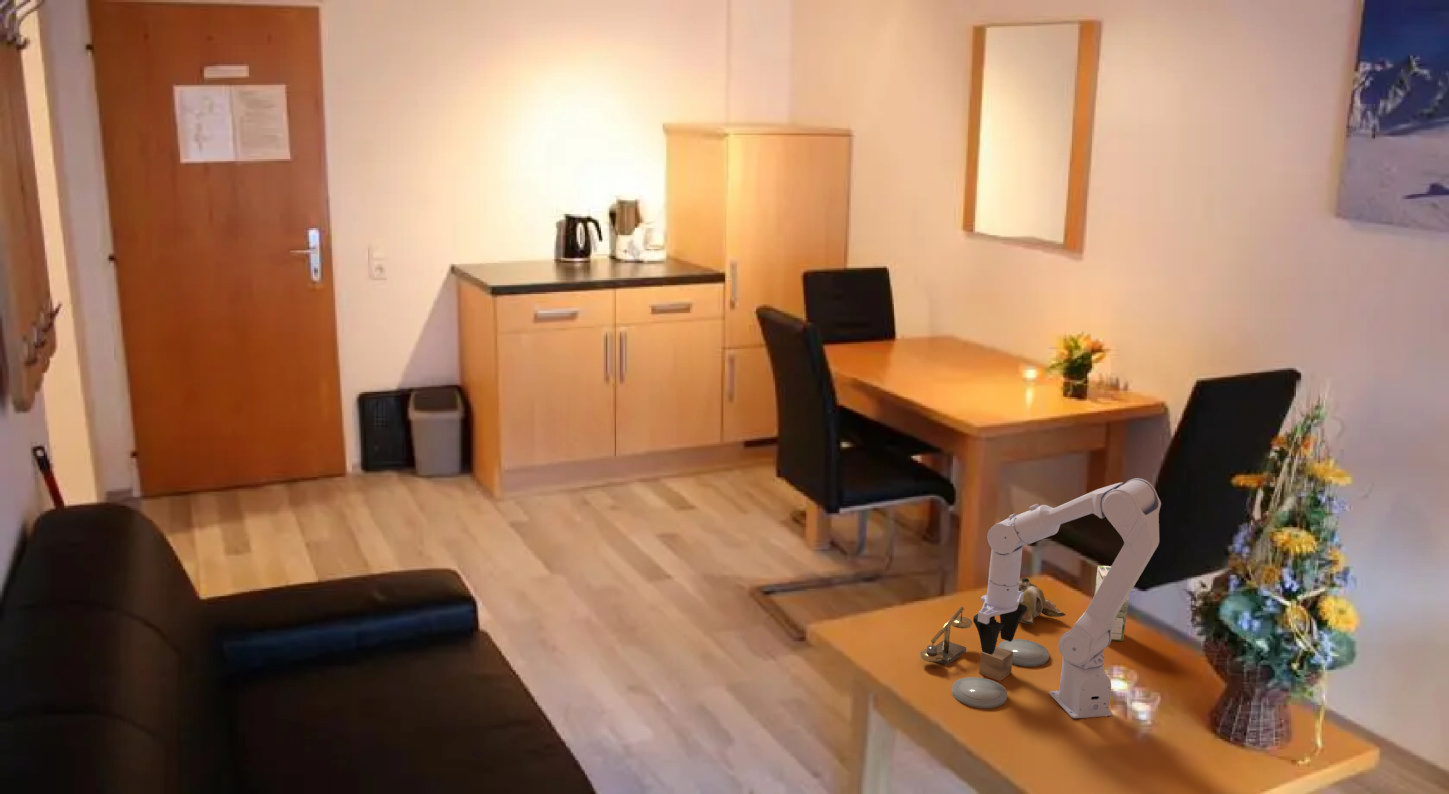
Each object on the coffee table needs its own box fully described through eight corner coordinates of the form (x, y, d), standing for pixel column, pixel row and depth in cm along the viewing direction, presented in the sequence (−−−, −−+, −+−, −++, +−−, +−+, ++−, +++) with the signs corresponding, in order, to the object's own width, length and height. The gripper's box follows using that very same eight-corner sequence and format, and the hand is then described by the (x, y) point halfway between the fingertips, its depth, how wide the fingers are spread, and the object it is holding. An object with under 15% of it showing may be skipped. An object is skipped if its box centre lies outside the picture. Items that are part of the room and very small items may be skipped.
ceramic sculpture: (1022, 561, 263) (1071, 589, 251) (1017, 596, 266) (1065, 626, 254) (985, 569, 258) (1034, 599, 246) (980, 605, 261) (1028, 636, 248)
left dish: (1015, 706, 218) (1016, 700, 217) (964, 710, 216) (965, 704, 215) (993, 680, 227) (993, 675, 227) (944, 683, 225) (944, 678, 225)
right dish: (1057, 664, 234) (1057, 659, 234) (1010, 668, 232) (1010, 662, 232) (1034, 642, 244) (1035, 637, 244) (989, 645, 242) (989, 640, 242)
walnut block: (990, 665, 233) (992, 644, 232) (1011, 673, 230) (1013, 652, 229) (979, 673, 230) (980, 652, 229) (1000, 681, 227) (1002, 659, 226)
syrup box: (1117, 629, 251) (1125, 565, 247) (1123, 642, 245) (1132, 576, 242) (1090, 628, 251) (1097, 563, 248) (1095, 640, 246) (1103, 574, 242)
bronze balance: (953, 637, 245) (956, 599, 243) (975, 645, 242) (978, 606, 240) (914, 664, 233) (917, 625, 230) (936, 672, 230) (940, 632, 227)
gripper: (1002, 564, 233) (996, 627, 237) (966, 585, 223) (959, 651, 226) (1036, 574, 229) (1029, 639, 232) (1000, 596, 218) (993, 663, 222)
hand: (997, 646), depth 229 cm, fingers open, 7 cm apart
